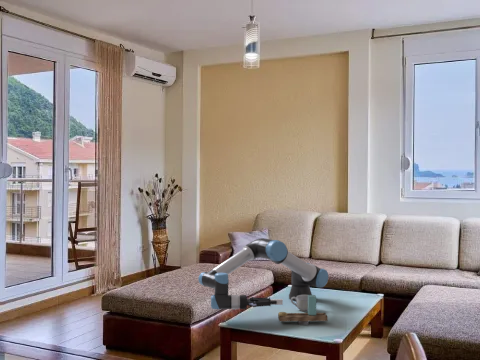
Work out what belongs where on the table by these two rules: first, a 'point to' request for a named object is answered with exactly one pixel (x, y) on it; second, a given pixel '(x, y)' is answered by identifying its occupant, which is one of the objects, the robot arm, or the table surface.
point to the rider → (311, 305)
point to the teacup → (301, 302)
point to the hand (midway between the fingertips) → (282, 301)
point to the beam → (302, 317)
